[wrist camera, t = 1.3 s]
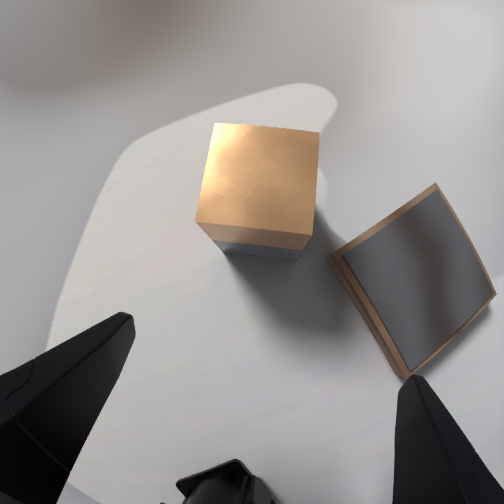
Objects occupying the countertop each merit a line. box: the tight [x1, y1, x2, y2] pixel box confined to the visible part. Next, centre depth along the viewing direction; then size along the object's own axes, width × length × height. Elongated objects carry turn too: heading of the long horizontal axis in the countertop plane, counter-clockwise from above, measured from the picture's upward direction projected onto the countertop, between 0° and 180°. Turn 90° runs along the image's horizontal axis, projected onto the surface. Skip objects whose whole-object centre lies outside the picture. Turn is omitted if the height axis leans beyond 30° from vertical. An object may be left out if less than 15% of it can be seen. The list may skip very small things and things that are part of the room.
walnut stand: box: [327, 183, 496, 379], centre depth 21 cm, size 11×11×2 cm
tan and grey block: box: [195, 123, 319, 261], centre depth 19 cm, size 6×6×9 cm
